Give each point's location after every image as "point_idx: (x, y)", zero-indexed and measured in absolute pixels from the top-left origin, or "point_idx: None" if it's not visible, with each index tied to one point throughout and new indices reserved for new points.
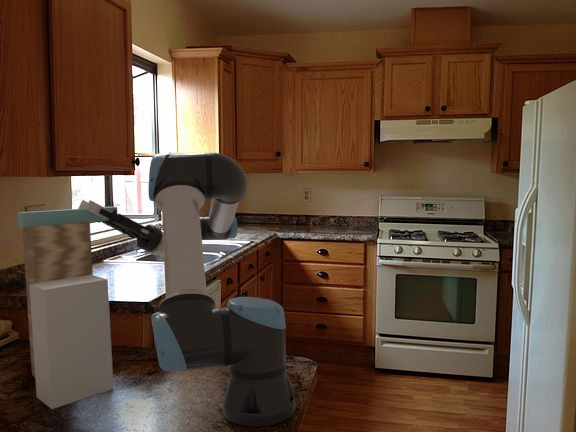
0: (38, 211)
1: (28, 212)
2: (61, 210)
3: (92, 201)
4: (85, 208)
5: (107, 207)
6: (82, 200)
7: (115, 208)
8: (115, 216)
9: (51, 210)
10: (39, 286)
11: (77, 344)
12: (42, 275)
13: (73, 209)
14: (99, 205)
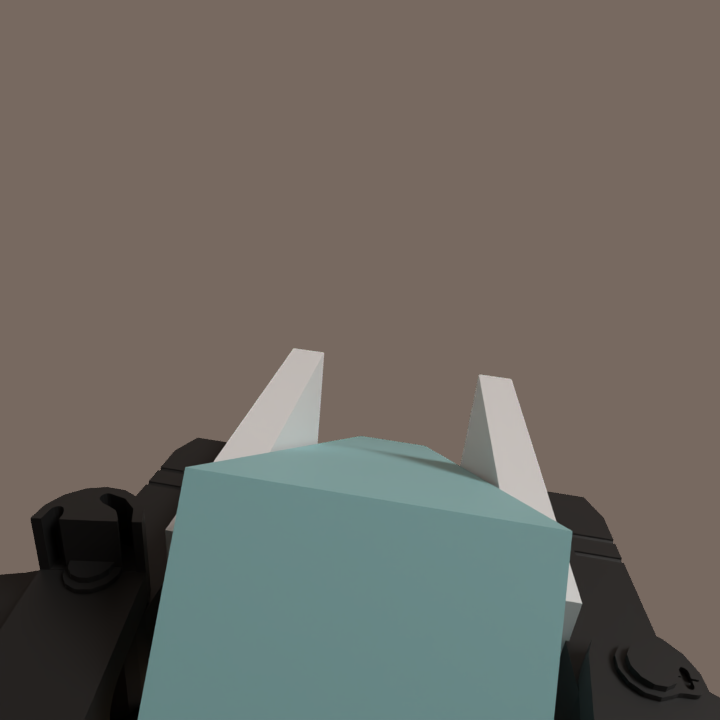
0: (400, 444)
1: (366, 437)
2: (346, 439)
3: (287, 358)
4: (417, 460)
5: (294, 460)
6: (503, 382)
7: (194, 500)
8: (2, 602)
9: (425, 450)
10: None
11: None
12: None
13: (373, 447)
14: (260, 403)
